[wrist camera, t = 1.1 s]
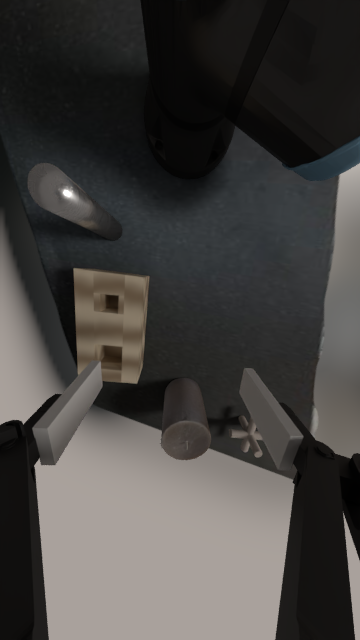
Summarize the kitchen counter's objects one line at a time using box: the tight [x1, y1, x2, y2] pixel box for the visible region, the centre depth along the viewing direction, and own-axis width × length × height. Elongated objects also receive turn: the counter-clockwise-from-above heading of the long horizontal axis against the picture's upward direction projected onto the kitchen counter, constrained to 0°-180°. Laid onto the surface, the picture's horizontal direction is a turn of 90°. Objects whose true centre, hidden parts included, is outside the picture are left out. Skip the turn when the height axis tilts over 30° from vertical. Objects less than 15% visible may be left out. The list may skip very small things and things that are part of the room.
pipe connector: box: [229, 416, 263, 457], centre depth 44 cm, size 10×10×10 cm
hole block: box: [74, 268, 149, 384], centre depth 36 cm, size 22×12×7 cm, turn 173°
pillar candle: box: [161, 378, 211, 460], centre depth 38 cm, size 10×10×15 cm
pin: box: [28, 163, 122, 241], centre depth 25 cm, size 4×4×18 cm
